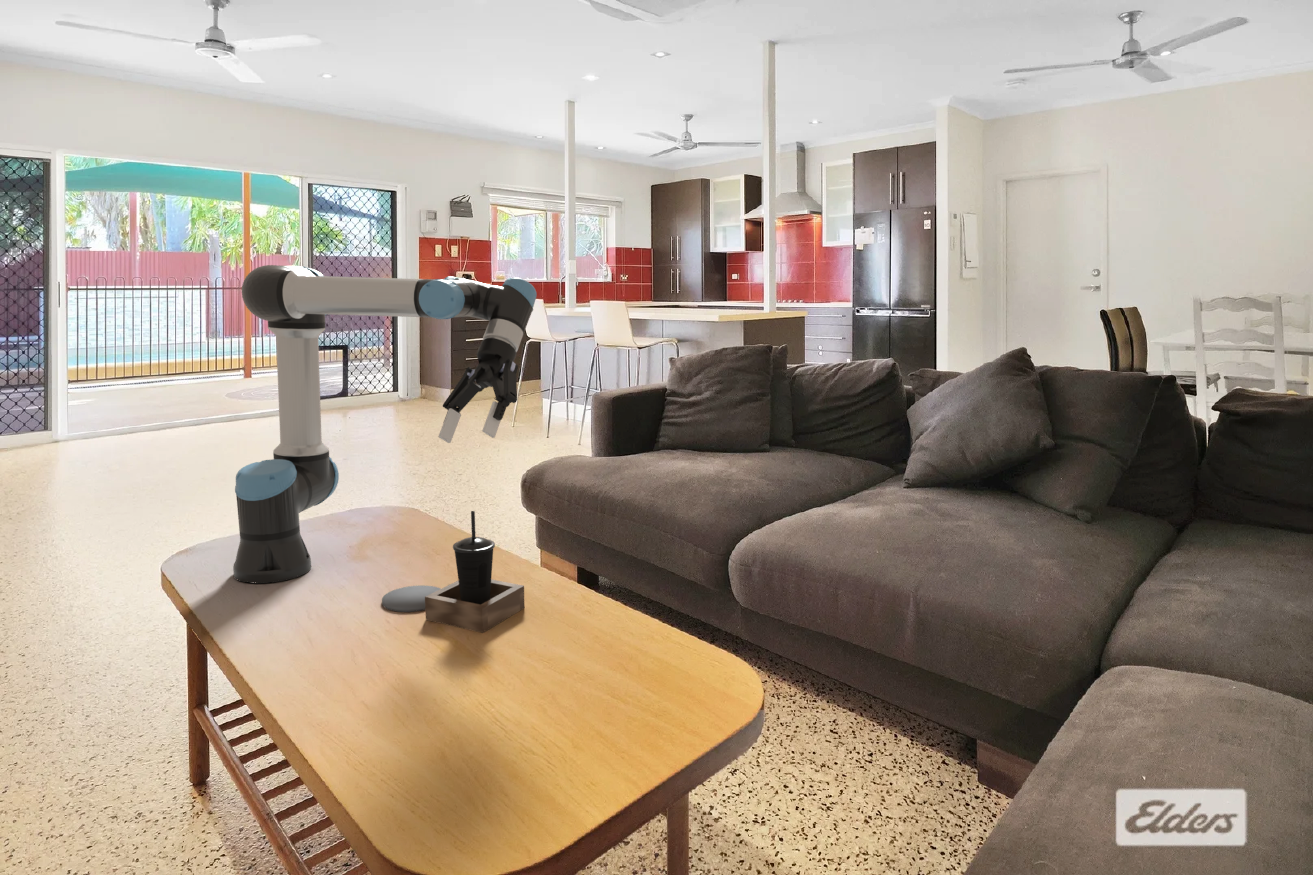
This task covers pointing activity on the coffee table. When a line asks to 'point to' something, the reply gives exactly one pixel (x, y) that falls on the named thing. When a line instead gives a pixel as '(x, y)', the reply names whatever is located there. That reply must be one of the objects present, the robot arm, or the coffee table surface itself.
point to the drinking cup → (474, 566)
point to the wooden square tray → (474, 606)
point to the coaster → (407, 598)
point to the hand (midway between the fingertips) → (465, 437)
